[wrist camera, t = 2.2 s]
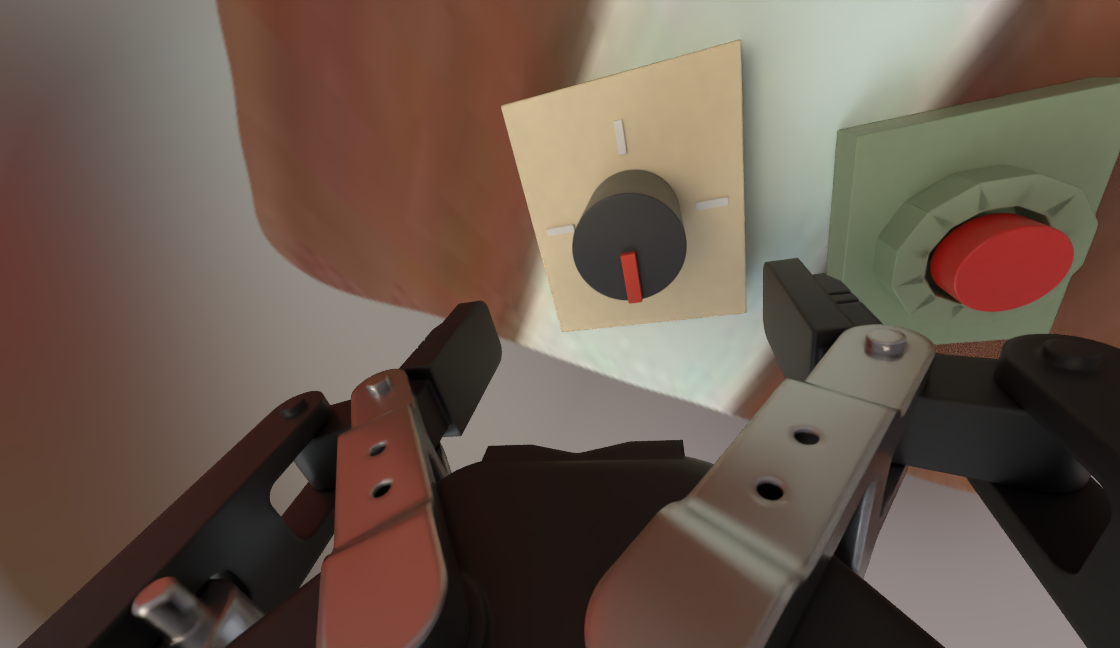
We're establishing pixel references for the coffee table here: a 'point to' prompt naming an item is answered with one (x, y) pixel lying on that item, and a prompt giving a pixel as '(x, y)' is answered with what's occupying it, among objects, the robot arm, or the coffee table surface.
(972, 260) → the button
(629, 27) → the coffee table surface
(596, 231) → the hob knob
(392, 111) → the coffee table surface
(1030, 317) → the switch box
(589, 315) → the panel
